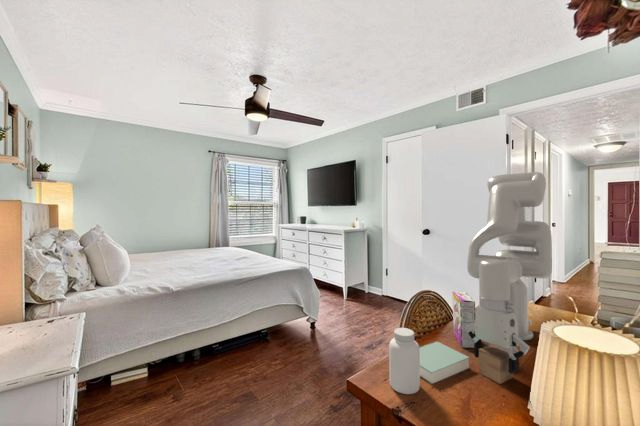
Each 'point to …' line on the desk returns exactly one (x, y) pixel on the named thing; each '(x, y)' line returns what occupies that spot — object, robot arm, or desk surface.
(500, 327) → the robot arm
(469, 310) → the candy bar box
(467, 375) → the desk surface
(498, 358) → the walnut block
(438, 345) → the book
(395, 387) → the pill bottle
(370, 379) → the desk surface
